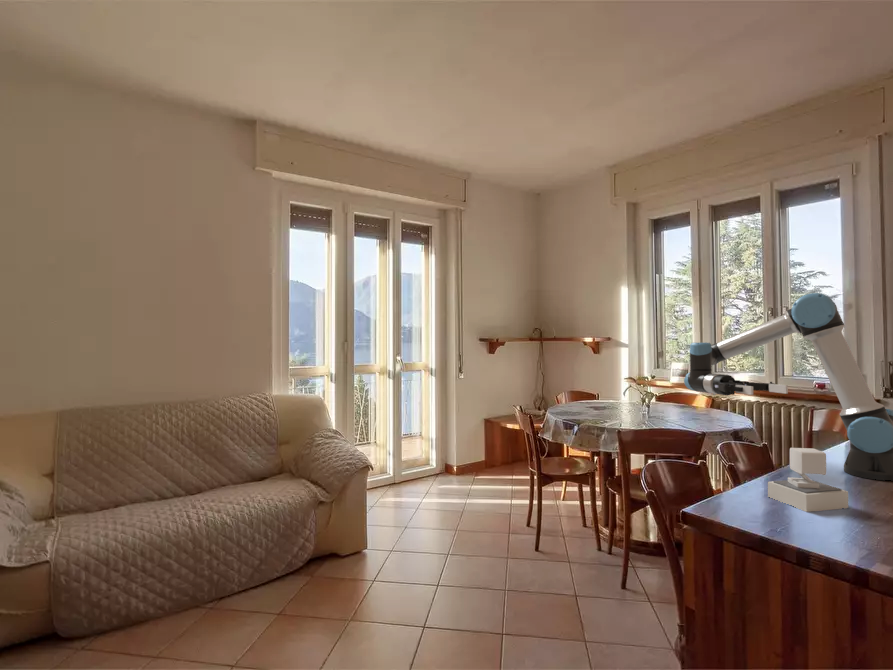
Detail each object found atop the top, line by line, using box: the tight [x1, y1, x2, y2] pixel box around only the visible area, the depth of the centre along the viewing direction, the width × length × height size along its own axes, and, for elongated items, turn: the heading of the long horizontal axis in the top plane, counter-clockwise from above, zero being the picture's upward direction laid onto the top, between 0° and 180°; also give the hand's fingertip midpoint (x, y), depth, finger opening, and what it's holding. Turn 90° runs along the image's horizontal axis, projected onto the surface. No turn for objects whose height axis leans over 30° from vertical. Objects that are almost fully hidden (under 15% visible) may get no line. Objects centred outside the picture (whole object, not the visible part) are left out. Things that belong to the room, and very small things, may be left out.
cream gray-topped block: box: [767, 479, 849, 513], centre depth 135 cm, size 14×12×5 cm
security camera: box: [787, 447, 827, 488], centre depth 135 cm, size 6×7×10 cm
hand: (769, 390), depth 156 cm, fingers open, 13 cm apart
